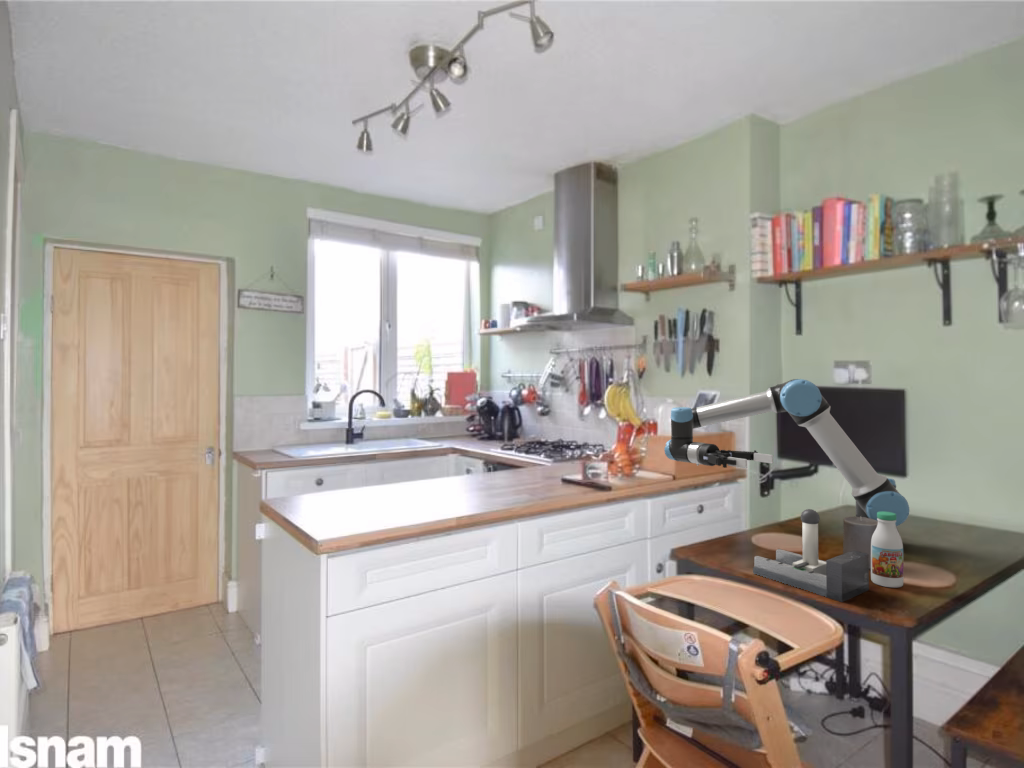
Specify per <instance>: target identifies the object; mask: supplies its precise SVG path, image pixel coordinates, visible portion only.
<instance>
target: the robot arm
mask: <svg viewBox="0 0 1024 768" xmlns="http://www.w3.org/2000/svg"><path fill="white" fill-rule="evenodd" d="M830 411H831V405H830V403H828V401H827V400H826V399H825V397H824V396H823V395H822V393H821V391H820V388H819V387H818V386H817V385H816V384H814V383H813V382H812V381H809V380H807V379H801V378H793V379H790V380H787V381H786V382H783V383H780V384H777V385H774V386H771V387H768V389H767V390H764V391H761V392H756V393H753V394H752V393H751V394H748V395H744V396H739V397H735V398H731V399H727V400H722V401H719V402H718V401H717V402H713V403H709V404H705V405H701V406H696V407H692V408H691V407H688V406H687V407H686V406H685V407H683V406H680V407H672V408H671V410H670V429H671V436H670V437H671V438H670V439H669V440H668V441H666V443H665V446H664V454H665V457H667V459H669V460H672V461H675V462H680V463H681V462H683V463H689V464H690V463H691V464H696V466H697V467H698V466H700V465H703V466H708V467H714V466H718V467H720V466H722V468H728V467H727V466H729V467H733V468H734V467H735V468H740V469H741V468H742V469H747V468H748V461H753V462H757V463H764V464H774V455H773V454H768V453H762V452H761V453H760V452H758V451H757V450H753V451H746V450H731V449H728V450H725V449H720V447H719V446H717V445H716V444H714V443H705V442H699V441H693V440H694V437H693V436H694V433H693V431H694V429H697V428H698V429H699V428H701V427H703V428H704V427H707V426H711V425H715V424H719V423H726V422H730V421H734V420H738V419H739V420H740V419H743V418H748V417H752V416H757V415H763V414H766V413H770V412H773V413H775V414H779V413H786V412H787V413H788V414H789V416H790V417H791V418H792V420H793V421H794V422H795V423H796V425H797V426H799V427H803V428H805V429H807V431H808V432H809V434H810V435H811V436H812V438H813V439H814V440H815V441H816V443H817V444H818V445H819V446H820V448H821V449H822V450H823V452H824V453H825V455H826V456H827V457H828V458H829V460H830V461H831V462H832V463H833V464H834V466H835V467H836V468H837V470H838V471H839V472H840V474H841V475H842V476H843V479H845V480H846V482H847V483H848V484H849V486H850V487H851V488H852V490H851V497H852V498H853V499H854V500H855V517H860V516H861V517H866V518H870V519H874V520H877V512H882V511H884V512H892V513H895V514H896V523H895V524H896V528H897V531H898V533H899V535H900V536H901V533H900V532H899V529H898V526H900V525H901V524H903V523H905V521H907V519H908V517H909V515H910V506H909V503H908V499H906V497H905V496H904V495H902V494H901V493H900V492H899V491H898V490H897V484H896V480H895V479H893V478H889V477H887V476H886V475H882V474H878V472H877V470H875V468H874V467H873V466H872V465H871V464H870V462H869V461H868V460H867V458H865V456H864V455H863V454H862V453H861V451H860V450H859V449H858V447H857V446H856V445H855V443H854V442H853V441H852V439H850V437H849V436H848V435H847V433H846V432H845V430H844V429H843V428H842V427H841V426H840V425H839V423H838V422H837V420H836V419H835V418H834V417H833V416H832V414H831V413H830ZM877 521H878V520H877Z"/></svg>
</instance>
